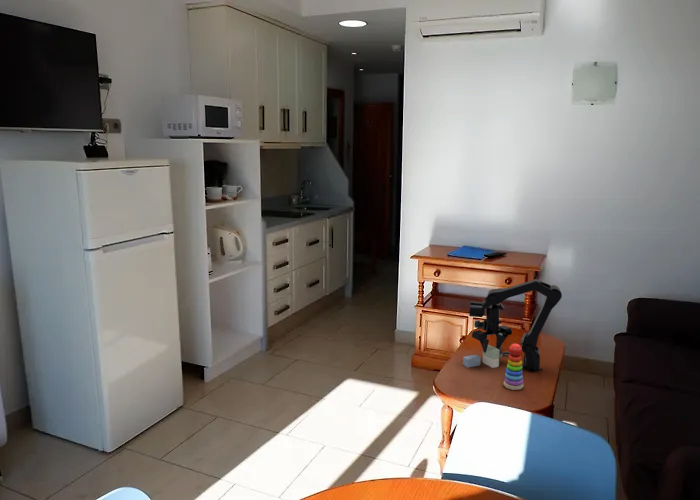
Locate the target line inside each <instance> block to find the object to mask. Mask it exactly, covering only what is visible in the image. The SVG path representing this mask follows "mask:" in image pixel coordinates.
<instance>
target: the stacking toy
mask: <svg viewBox="0 0 700 500" xmlns="http://www.w3.org/2000/svg"><path fill="white" fill-rule="evenodd" d="M508 352H510V353H511V354H508V355H509V357H508V359H507V365H506V368H505V373H504V381H503V386H504V387H505V388H506V389H509V390H513V391H520V390H522V389H523V388H524V378H523V377H524V376H523V368H522V366H523V361H522V356H521V354H522V353H523V351H522V347H521V344H518V343H511V345H510V346H509V347H508Z"/></svg>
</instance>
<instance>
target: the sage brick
mask: <svg viewBox="0 0 700 500" xmlns="http://www.w3.org/2000/svg"><path fill="white" fill-rule="evenodd" d="M495 347H496V346H493V345H490V344H488V347H487V351H486V353H485V352H484V351H483V350H482V356H483V355H485V356H487V357H489V358H491V359H493V360H494V359H498V358H499V356H500V355H499V352H500V350H499V349H497V348H495ZM499 359H500V358H499Z"/></svg>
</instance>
